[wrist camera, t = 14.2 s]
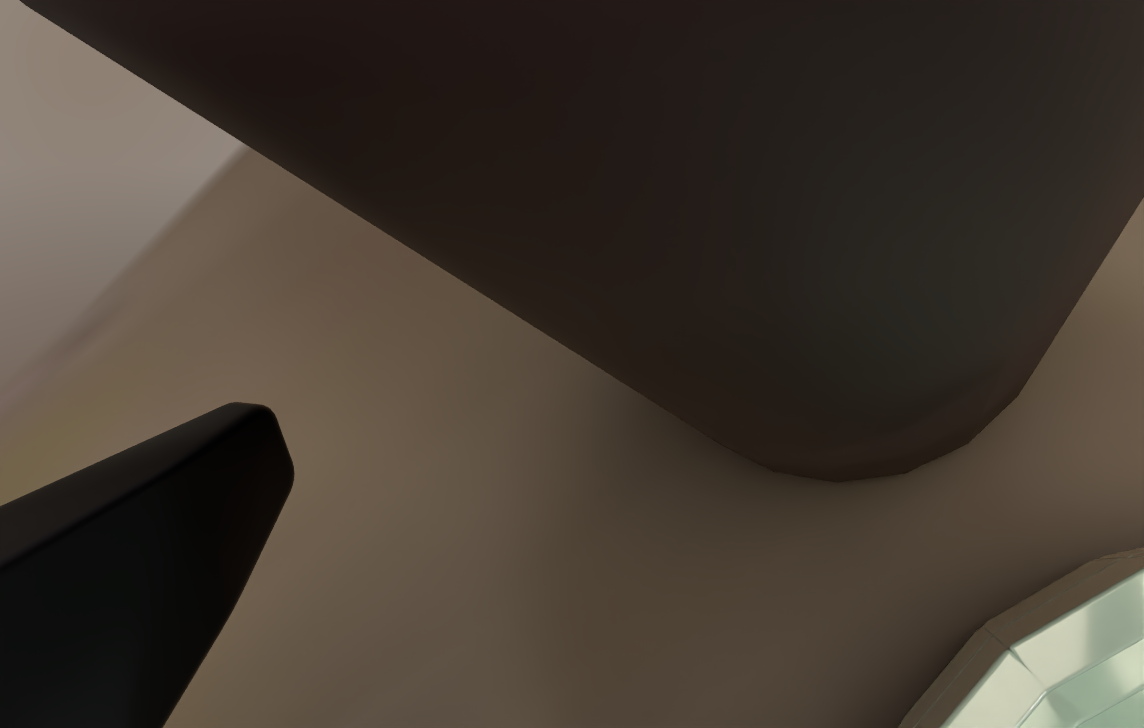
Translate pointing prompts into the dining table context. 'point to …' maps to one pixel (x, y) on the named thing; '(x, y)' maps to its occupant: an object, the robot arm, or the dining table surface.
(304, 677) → the dining table surface
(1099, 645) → the basin
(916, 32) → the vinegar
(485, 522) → the dining table surface
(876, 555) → the dining table surface
